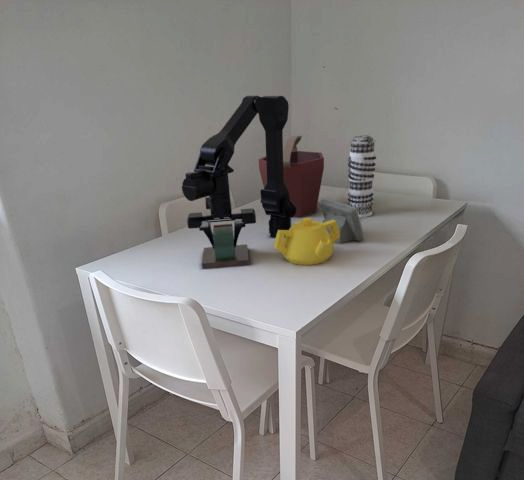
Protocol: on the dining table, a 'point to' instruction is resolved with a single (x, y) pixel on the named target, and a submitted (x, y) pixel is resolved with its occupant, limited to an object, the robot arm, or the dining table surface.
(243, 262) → the brown square board
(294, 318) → the dining table surface
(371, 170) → the black white tall cylinder
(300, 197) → the bucket
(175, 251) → the dining table surface
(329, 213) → the digital clock
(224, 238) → the green box
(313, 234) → the teapot
